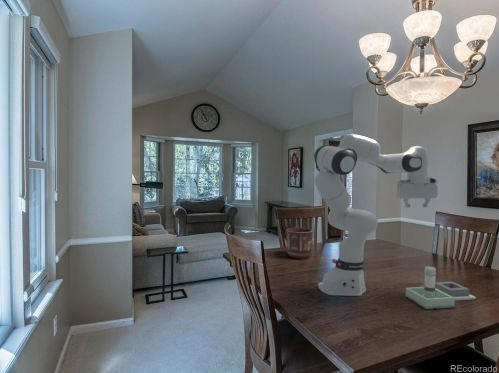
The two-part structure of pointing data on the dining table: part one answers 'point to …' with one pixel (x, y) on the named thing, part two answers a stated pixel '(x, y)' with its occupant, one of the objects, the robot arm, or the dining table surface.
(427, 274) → the cylinder
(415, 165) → the robot arm
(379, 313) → the dining table surface
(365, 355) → the dining table surface
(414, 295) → the parts tray
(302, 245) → the pottery
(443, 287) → the fuse board
